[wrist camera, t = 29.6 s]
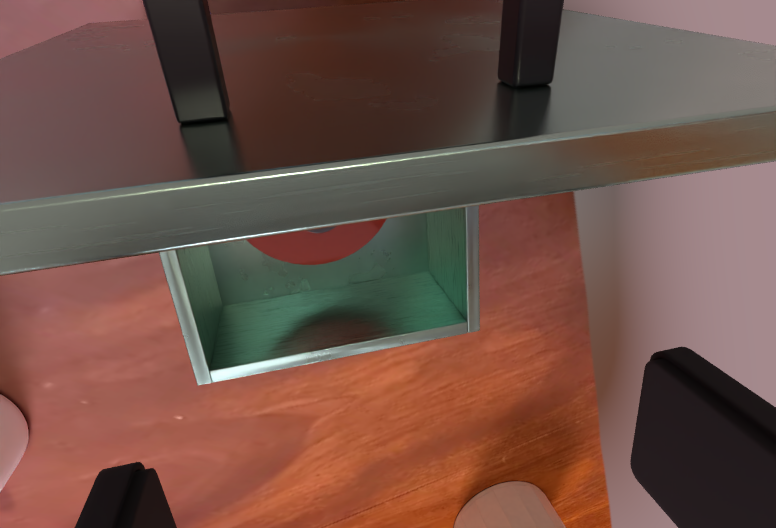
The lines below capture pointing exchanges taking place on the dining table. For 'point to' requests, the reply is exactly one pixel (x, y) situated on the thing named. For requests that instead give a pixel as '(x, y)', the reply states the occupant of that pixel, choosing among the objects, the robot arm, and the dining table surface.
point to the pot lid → (318, 243)
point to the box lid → (351, 119)
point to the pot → (509, 508)
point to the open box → (326, 297)
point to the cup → (11, 438)
